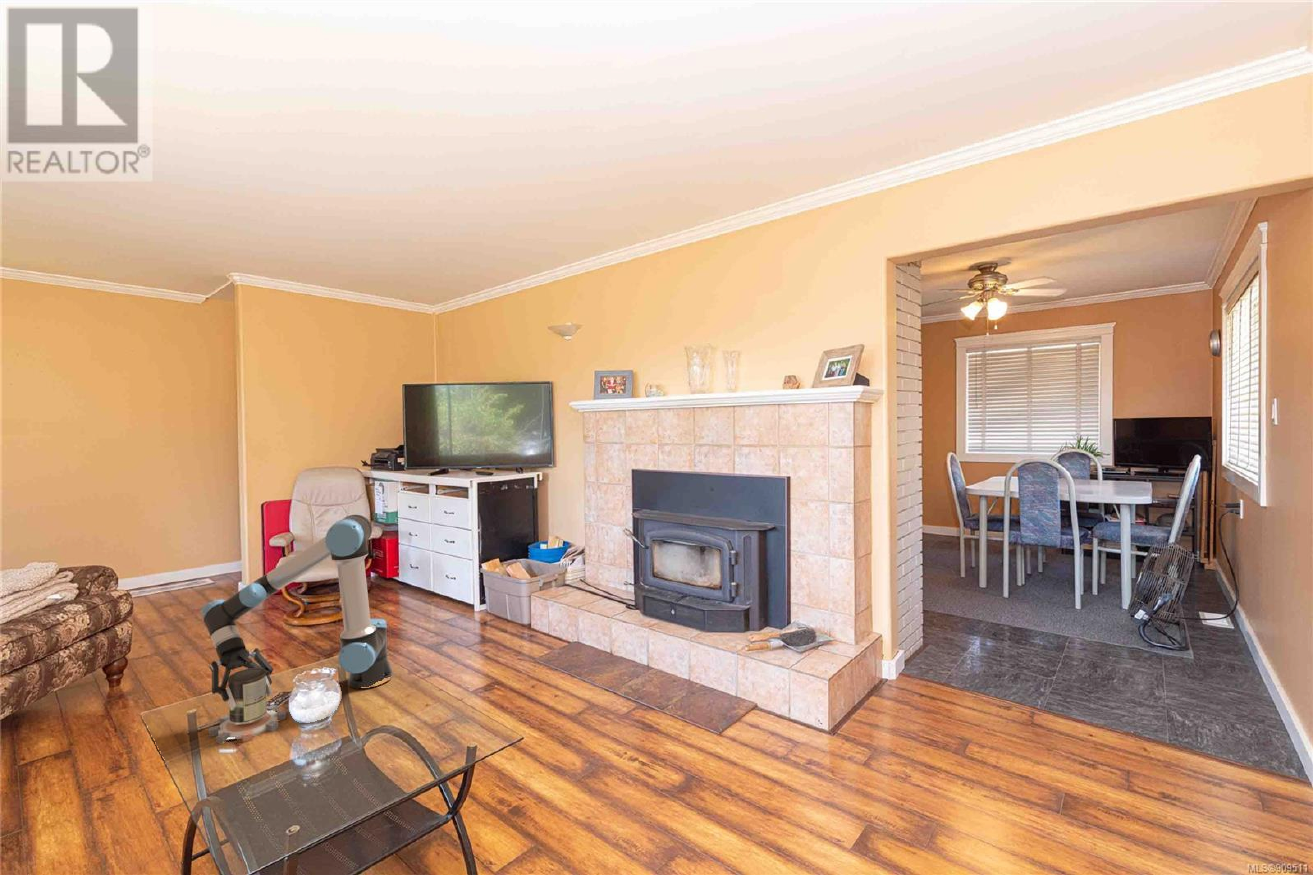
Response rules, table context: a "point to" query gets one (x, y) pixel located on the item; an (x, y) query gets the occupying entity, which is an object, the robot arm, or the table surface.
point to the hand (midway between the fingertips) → (252, 701)
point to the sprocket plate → (247, 726)
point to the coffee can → (248, 695)
